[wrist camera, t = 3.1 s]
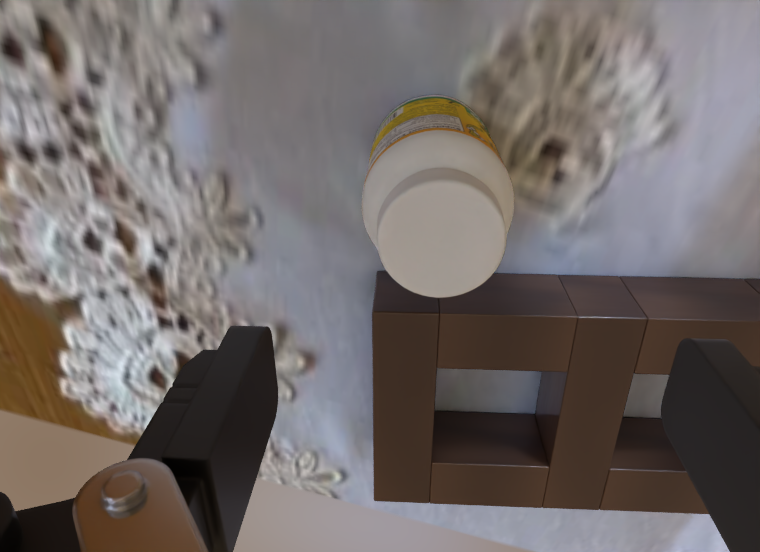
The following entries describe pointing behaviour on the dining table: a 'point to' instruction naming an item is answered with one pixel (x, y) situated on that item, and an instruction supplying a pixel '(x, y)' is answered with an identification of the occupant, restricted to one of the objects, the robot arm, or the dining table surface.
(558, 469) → the holder
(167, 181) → the dining table surface
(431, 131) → the supplement bottle
